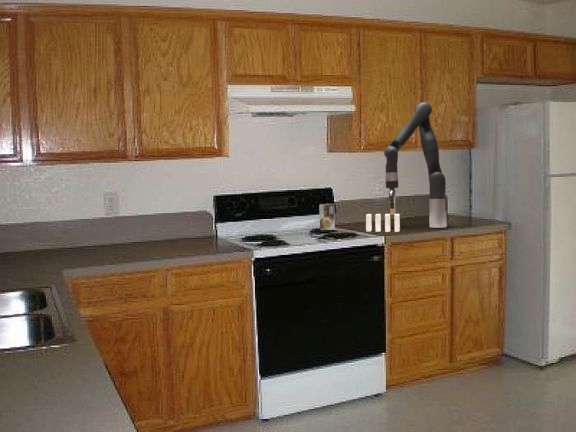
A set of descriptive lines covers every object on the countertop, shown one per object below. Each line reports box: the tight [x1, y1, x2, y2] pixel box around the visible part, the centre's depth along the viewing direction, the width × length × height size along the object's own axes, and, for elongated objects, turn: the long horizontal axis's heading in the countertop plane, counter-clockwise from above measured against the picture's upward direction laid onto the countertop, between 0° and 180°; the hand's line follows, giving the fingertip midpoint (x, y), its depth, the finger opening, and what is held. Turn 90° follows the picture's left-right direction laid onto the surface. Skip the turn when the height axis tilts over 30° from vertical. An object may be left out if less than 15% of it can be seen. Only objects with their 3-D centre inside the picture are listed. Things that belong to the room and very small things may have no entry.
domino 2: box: [374, 213, 382, 233], centre depth 353 cm, size 2×5×10 cm, turn 163°
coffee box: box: [318, 203, 336, 231], centre depth 367 cm, size 9×6×16 cm
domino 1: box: [365, 213, 373, 233], centre depth 355 cm, size 2×5×10 cm, turn 163°
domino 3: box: [384, 213, 391, 233], centre depth 352 cm, size 2×5×10 cm, turn 163°
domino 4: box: [389, 199, 397, 215], centre depth 363 cm, size 2×5×10 cm, turn 163°
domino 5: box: [393, 213, 401, 233], centre depth 350 cm, size 2×5×10 cm, turn 163°
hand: (392, 208), depth 363 cm, fingers closed on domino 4, 5 cm apart
